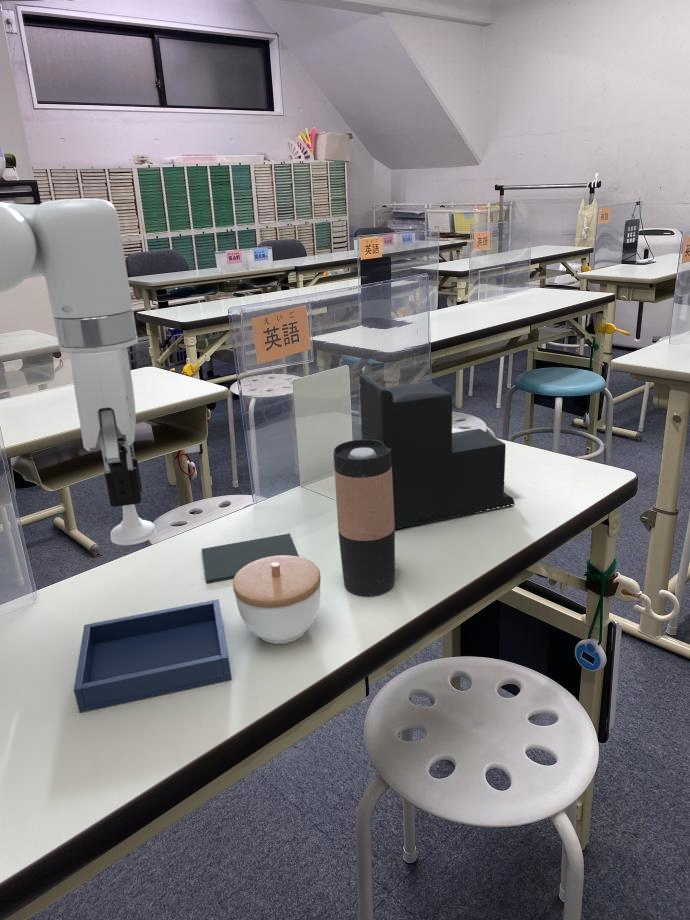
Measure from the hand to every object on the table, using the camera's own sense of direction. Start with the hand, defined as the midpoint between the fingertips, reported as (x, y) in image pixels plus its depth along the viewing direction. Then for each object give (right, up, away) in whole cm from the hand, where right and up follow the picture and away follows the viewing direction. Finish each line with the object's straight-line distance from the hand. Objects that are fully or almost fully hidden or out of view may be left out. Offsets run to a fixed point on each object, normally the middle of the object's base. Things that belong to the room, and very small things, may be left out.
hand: (126, 497), depth 75 cm
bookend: (+40, -4, +42) cm, 58 cm away
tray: (+1, -20, +7) cm, 21 cm away
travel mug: (+27, -13, +21) cm, 37 cm away
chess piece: (0, -4, +2) cm, 5 cm away
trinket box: (+16, -17, +12) cm, 26 cm away
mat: (+9, -11, +29) cm, 32 cm away
